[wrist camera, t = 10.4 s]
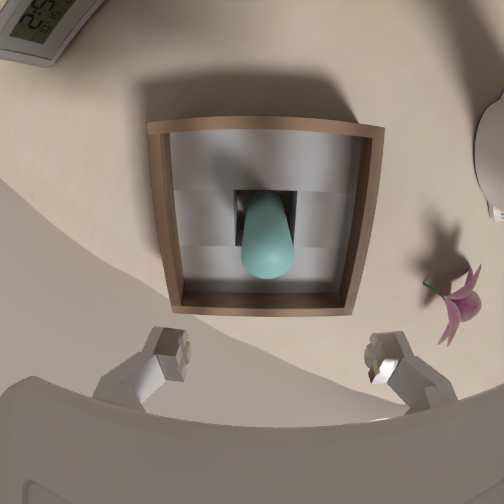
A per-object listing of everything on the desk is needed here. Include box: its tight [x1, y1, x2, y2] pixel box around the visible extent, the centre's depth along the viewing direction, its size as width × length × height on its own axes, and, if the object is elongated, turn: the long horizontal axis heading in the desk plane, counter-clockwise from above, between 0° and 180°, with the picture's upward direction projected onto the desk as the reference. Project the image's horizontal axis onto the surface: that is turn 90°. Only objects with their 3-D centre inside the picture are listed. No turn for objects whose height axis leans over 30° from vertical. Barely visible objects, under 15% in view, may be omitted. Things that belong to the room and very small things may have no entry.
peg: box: [241, 190, 294, 279], centre depth 23 cm, size 4×4×10 cm
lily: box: [423, 265, 481, 347], centre depth 28 cm, size 12×12×10 cm
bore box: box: [147, 116, 385, 317], centre depth 25 cm, size 18×18×6 cm
